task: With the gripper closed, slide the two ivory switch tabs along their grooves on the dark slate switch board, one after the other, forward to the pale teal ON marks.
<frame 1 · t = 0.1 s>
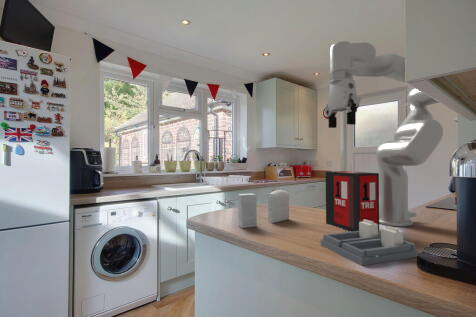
hand: (341, 126, 95), 37 cm above the counter, tool pointing down, fingers open, 9 cm apart
switch board: (366, 250, 72), on the counter
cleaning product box: (350, 227, 96), on the counter
tab a: (368, 229, 77), point 4 cm above the counter, slide at 0.0 cm
tab b: (391, 237, 69), point 4 cm above the counter, slide at 0.0 cm
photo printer: (278, 221, 107), on the counter
skincare box: (247, 226, 98), on the counter
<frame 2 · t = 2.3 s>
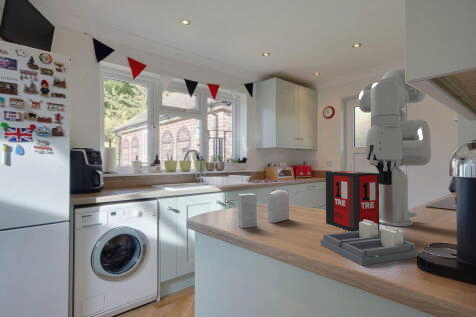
hand: (385, 184, 79), 17 cm above the counter, tool pointing down, fingers closed
nothing on the counter moved.
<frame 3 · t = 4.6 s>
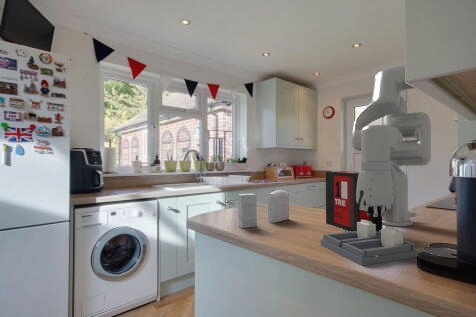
hand: (375, 229, 78), 4 cm above the counter, tool pointing down, fingers closed
tab a: (366, 229, 77), point 4 cm above the counter, slide at 0.8 cm, touching gripper
everything else where it was.
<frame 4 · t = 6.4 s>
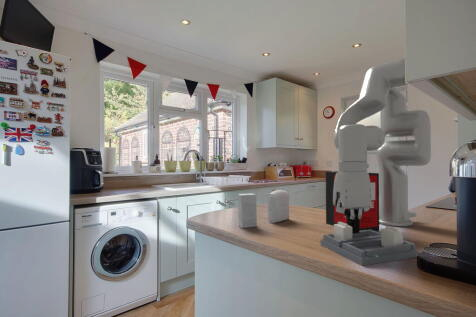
hand: (353, 232, 75), 4 cm above the counter, tool pointing down, fingers closed
tab a: (342, 232, 74), point 4 cm above the counter, slide at 9.0 cm, touching gripper
everything else where it was.
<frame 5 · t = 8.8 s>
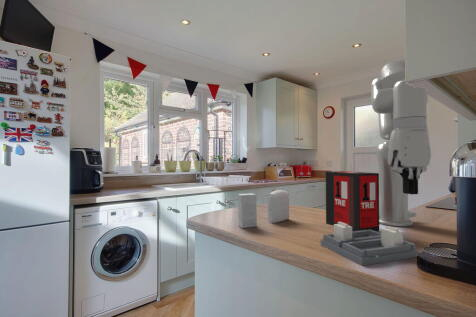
hand: (410, 193, 71), 15 cm above the counter, tool pointing down, fingers closed
tab a: (342, 232, 74), point 4 cm above the counter, slide at 9.0 cm
everything else where it was.
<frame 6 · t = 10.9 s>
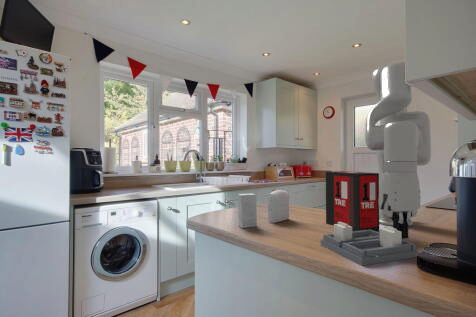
hand: (400, 237, 70), 4 cm above the counter, tool pointing down, fingers closed
tab b: (390, 237, 69), point 4 cm above the counter, slide at 0.5 cm, touching gripper
everything else where it was.
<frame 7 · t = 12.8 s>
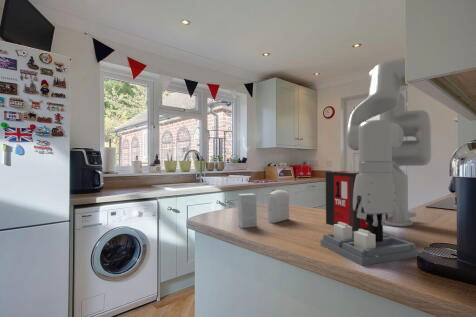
hand: (375, 240, 68), 4 cm above the counter, tool pointing down, fingers closed
tab b: (364, 240, 67), point 4 cm above the counter, slide at 9.0 cm, touching gripper
everything else where it was.
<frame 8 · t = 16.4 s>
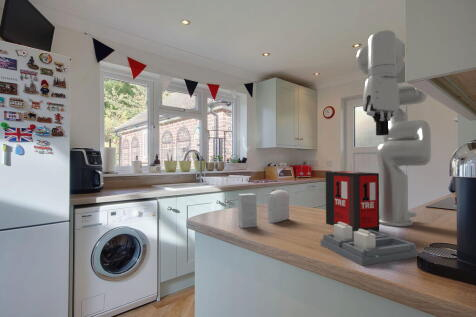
hand: (382, 134, 80), 32 cm above the counter, tool pointing down, fingers closed
tab b: (364, 240, 67), point 4 cm above the counter, slide at 9.0 cm
everything else where it was.
at the end: tab a slide at 9.0 cm; tab b slide at 9.0 cm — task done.
